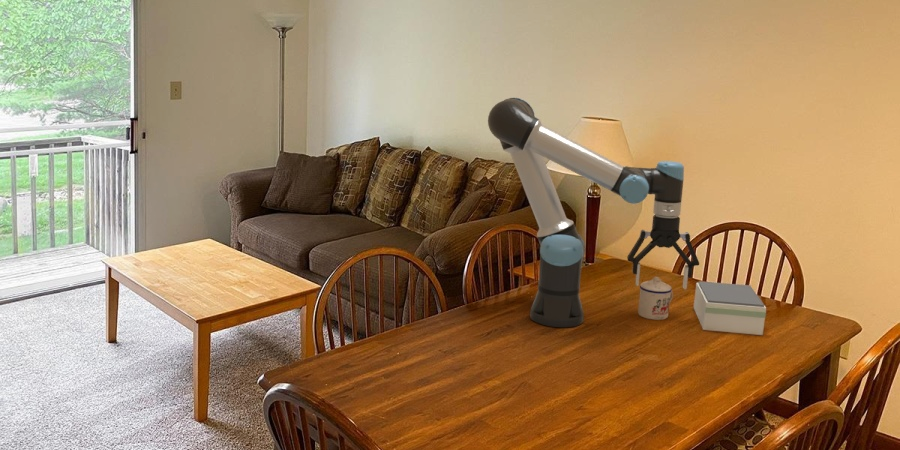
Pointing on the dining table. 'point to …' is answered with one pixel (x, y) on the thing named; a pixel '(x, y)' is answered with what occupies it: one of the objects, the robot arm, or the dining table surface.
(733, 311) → the stand
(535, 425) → the dining table surface
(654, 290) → the teacup with lid
